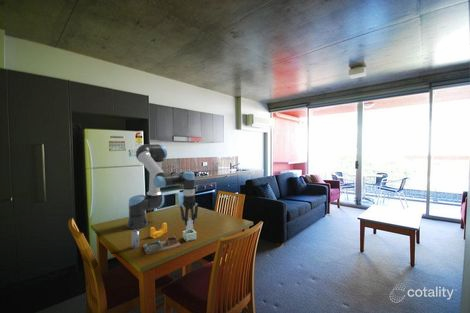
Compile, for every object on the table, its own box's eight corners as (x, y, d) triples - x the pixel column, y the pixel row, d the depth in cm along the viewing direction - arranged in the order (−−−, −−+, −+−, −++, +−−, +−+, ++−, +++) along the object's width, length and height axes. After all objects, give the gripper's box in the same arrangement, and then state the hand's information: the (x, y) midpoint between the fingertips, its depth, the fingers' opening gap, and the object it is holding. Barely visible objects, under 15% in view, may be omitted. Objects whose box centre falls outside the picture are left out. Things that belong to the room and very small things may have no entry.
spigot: (131, 246, 129) (131, 229, 128) (138, 245, 131) (138, 228, 130) (132, 249, 125) (132, 231, 125) (139, 247, 127) (139, 230, 127)
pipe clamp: (154, 238, 141) (154, 229, 141) (150, 237, 143) (150, 227, 143) (168, 232, 151) (168, 223, 151) (164, 231, 153) (164, 222, 153)
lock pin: (186, 232, 141) (186, 218, 140) (191, 231, 142) (190, 217, 142) (188, 234, 138) (188, 219, 138) (192, 233, 140) (192, 218, 139)
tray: (182, 237, 141) (182, 231, 141) (192, 235, 145) (192, 229, 145) (186, 241, 135) (186, 234, 135) (196, 239, 139) (196, 232, 139)
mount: (143, 246, 128) (143, 241, 128) (175, 239, 139) (175, 234, 139) (146, 255, 118) (146, 249, 118) (181, 246, 129) (181, 240, 129)
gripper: (179, 197, 132) (179, 234, 133) (202, 194, 140) (202, 229, 141) (176, 195, 138) (176, 230, 139) (197, 192, 147) (198, 225, 147)
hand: (189, 229), depth 140 cm, fingers closed on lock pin, 2 cm apart
